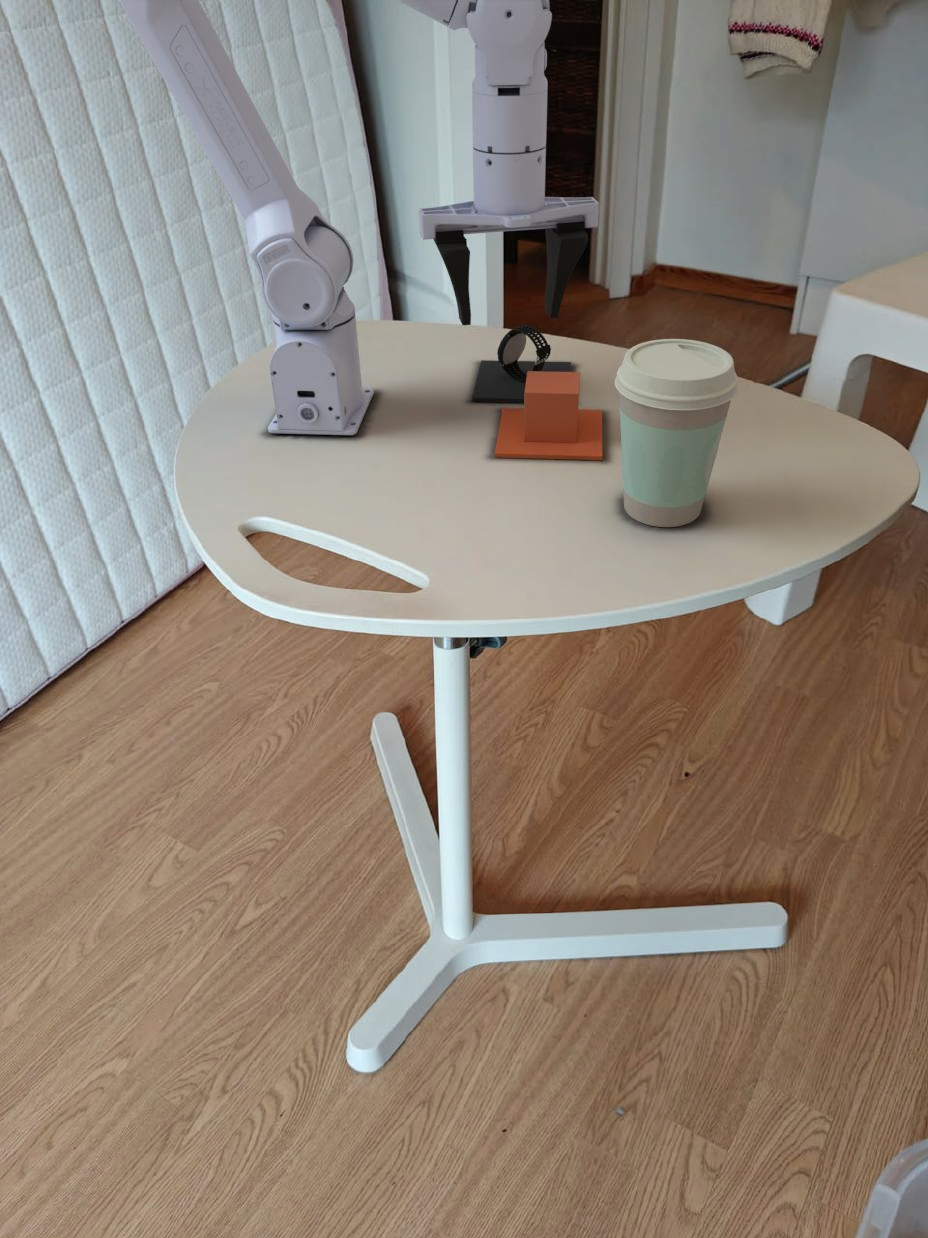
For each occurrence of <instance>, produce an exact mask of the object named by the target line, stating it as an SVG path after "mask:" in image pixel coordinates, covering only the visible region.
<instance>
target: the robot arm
mask: <svg viewBox="0 0 928 1238" xmlns="http://www.w3.org/2000/svg"><path fill="white" fill-rule="evenodd" d="M397 1H398V2H400V3H402V4H403V5H405V6H408V7H409V8H411V9H413V10H415V11H416V12H419V13H421V14H422V15H424V16H426V17H428V18H430V19H431V20H433V21H436V22H437V23H439V24H442V25H443V26H445V27H447V28H449V29H451V30H452V31H457V30H459V29H468V33H469V35H470V37H471V40H472V41H473V43H474V71H475V72H474V78H473V80H472V83H471V102H472V103H471V104H472V105H471V107H472V114H471V115H472V175H473V177H472V178H473V180H472V181H473V200H470V201H469V200H468V201H464V202H458V203H453V204H446V205H440V206H433V207H424V208H422V207H421V208H419V209H418V221H419V234H420V236H421V238H422V240H433V241H434V244H435V245H436V248H437V250H438V252H439V254H440V256H441V259H442V261H443V263H444V266H445V268H446V272H447V274H448V276H449V279H450V283H451V286H452V288H453V292H454V293H453V294H454V296H455V300H456V306H457V312H458V319H459V321H460V323H461V325H462V326H471V325H472V311H471V300H470V299H471V298H470V261H471V250H470V248H469V247H468V245H467V244H468V242H467V241H468V240H467V239H468V238H466V237H465V235H471V234H475V235H476V234H485V233H486V234H487V233H501V232H516V231H529V230H544V229H545V243H546V281H545V295H544V299H545V300H544V307H545V309H544V310H545V312H546V314H547V315H548V316H549V318H550V319H557V318H559V317H560V311H561V306H562V302H563V299H564V295H565V292H566V289H567V287H568V283H569V281H570V279H571V276H572V274H573V272H574V270H575V267H576V265H577V263H578V262H579V260H580V258H581V256H582V254H583V253H584V251H585V250H586V248H587V245H588V240H589V234H588V233H587V231H585V229H591V228H598V227H599V215H600V214H599V213H600V212H599V211H600V202H599V201H598V200H596V198H594V197H593V196H586V197H564V196H563V197H561V196H560V197H559V196H546V195H545V194H546V159H547V158H546V157H547V122H548V89H549V87H548V85H549V84H548V83H549V82H548V79H547V77H546V76H545V71H546V69H547V66H548V52H547V49H546V48H545V47H546V46H545V41H546V39H547V37H548V34H549V31H550V29H551V25H552V19H553V14H552V12H551V11H550V8H551V7H550V0H397ZM118 3H119V4H120V6H121V8H122V9H123V11H124V13H125V14H126V16H127V18H128V20H129V22H130V24H131V25H132V26H133V28H134V31H135V32H136V33H137V35H138V38H139V39H140V40H141V43H142V45H143V46H144V47H145V50H146V51H147V53H148V55H149V56H150V58H151V61H153V63H154V65H155V67H156V68H157V70H158V72H159V74H160V76H161V77H162V79H163V81H164V82H165V85H167V88H168V89H169V91H170V93H171V95H172V96H173V98H174V100H175V102H176V103H177V105H178V107H179V108H180V111H181V112H182V115H184V118H185V119H186V121H187V123H188V124H189V126H190V128H191V129H192V132H193V133H194V136H196V138H197V140H198V142H199V143H200V145H201V147H202V149H203V150H204V153H205V154H206V156H207V157H208V159H209V161H210V163H211V165H212V166H213V168H214V170H215V172H216V173H217V175H218V177H219V178H220V180H221V182H222V184H223V186H224V188H225V189H226V191H227V192H228V194H229V196H230V198H231V199H232V201H233V203H234V204H235V207H236V208H237V210H238V212H239V213H240V216H241V217H242V219H243V221H244V225H245V230H246V239H247V247H248V253H249V256H250V258H251V260H252V261H253V263H254V265H255V267H256V268H257V271H258V274H259V279H260V290H261V295H262V299H263V301H264V303H265V305H266V307H267V308H268V310H269V311H270V312H271V318H272V326H273V332H274V333H273V334H274V340H275V348H274V350H273V353H272V355H271V357H270V363H269V375H270V382H271V390H272V395H273V402H274V410H275V414H274V416H273V418H272V420H271V421H270V423H269V425H268V426H267V430H268V433H270V434H286V435H287V434H288V435H322V436H324V435H325V436H327V435H328V436H354V435H356V434H357V433H358V431H359V428H360V427H361V424H362V421H363V419H364V417H365V415H366V412H367V410H368V408H369V406H370V403H371V400H372V398H373V396H374V394H375V388H373V387H372V386H363V383H362V382H363V381H362V371H361V362H360V351H359V337H358V328H357V327H358V326H357V319H356V307H355V304H354V303H353V301H352V300H351V298H350V297H349V295H348V293H347V291H346V289H345V285H346V283H348V282H349V279H350V277H351V276H352V272H353V270H354V254H353V251H352V247H351V245H350V243H349V241H348V240H347V238H346V237H345V235H344V234H343V233H342V232H341V231H340V230H338V229H337V228H336V227H335V226H333V224H331V223H329V222H328V221H327V219H326V218H325V217H324V216H323V214H322V212H321V210H320V209H319V207H318V205H317V203H316V202H315V201H314V200H313V199H312V198H311V197H310V196H308V194H306V193H305V192H304V191H303V190H302V189H301V188H300V187H299V186H298V184H297V182H296V181H295V179H294V177H293V175H292V172H291V171H290V169H289V168H288V166H287V163H286V162H285V160H284V158H283V156H282V154H281V153H280V150H279V149H278V146H277V145H276V143H275V141H274V139H273V137H272V135H271V133H270V132H269V130H268V128H267V126H266V124H265V123H264V120H263V119H262V116H261V114H260V113H259V111H258V109H257V108H256V106H255V104H254V102H253V100H252V98H251V97H250V95H249V92H248V91H247V88H246V87H245V85H244V83H243V81H242V79H241V77H240V76H239V74H238V72H237V70H236V68H235V66H234V64H233V63H232V60H231V59H230V57H229V55H228V52H227V51H226V49H225V47H224V45H223V44H222V41H221V40H220V38H219V36H218V35H217V32H216V30H215V28H214V27H213V25H212V23H211V22H210V19H209V17H208V16H207V14H206V12H205V10H204V8H203V6H202V4H201V2H200V0H118Z"/></svg>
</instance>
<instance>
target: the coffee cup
mask: <svg viewBox="0 0 928 1238" xmlns="http://www.w3.org/2000/svg"><path fill="white" fill-rule="evenodd" d="M738 382H739V378H738V374H737V373H736V370H735V362H734V358H733V357H732V355H731V353H729V352H727V351H726V350H725V349H723V348H721V347H720V346H717V345H714V344H711V343H708V342H704V341H700V340H694V339H686V338H662V339H661V338H660V339H654V340H653V339H652V340H649V341H643V342H641V343H639V344H636V345H634V346H632V347H630V348H629V349H628V350H627V351H626V352H625V355H624V357H623V360H622V362H621V365H620V366H619V367H618V369H617V372H616V377H615V380H614V386H615V388H616V390H617V391H618V396H619V399H618V401H619V422H620V424H619V425H620V426H619V427H620V445H621V446H620V447H621V448H620V449H621V471H622V472H621V473H622V490H623V491H622V492H623V495H622V496H623V509H624V511H625V512H626V514H627V515H628V516H629V517H630V518H632V519H633V520H635V521H637V522H638V523H642V524H644V525H647V526H651V527H659V528H674V527H681V526H684V525H689V524H690V523H692V522H694V521H695V520H696V519H698V517H700V515H701V511H702V508H703V503H704V501H705V497H706V494H707V490H708V487H709V484H710V479H711V475H712V472H713V468H714V465H715V461H716V458H717V453H718V450H719V446H720V443H721V439H722V435H723V432H724V427H725V424H726V420H727V417H728V413H729V410H730V406H731V402H732V399H733V398H735V396H736V395H737V394H738V392H739V385H738Z"/></svg>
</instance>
